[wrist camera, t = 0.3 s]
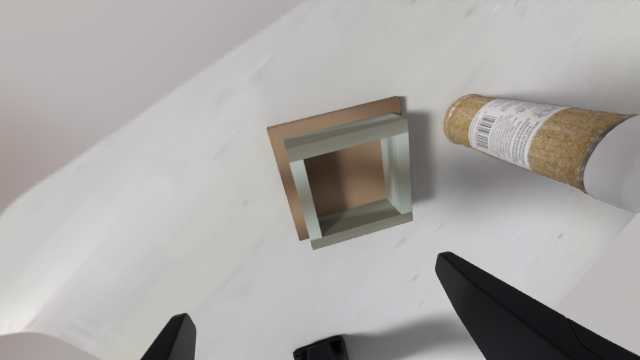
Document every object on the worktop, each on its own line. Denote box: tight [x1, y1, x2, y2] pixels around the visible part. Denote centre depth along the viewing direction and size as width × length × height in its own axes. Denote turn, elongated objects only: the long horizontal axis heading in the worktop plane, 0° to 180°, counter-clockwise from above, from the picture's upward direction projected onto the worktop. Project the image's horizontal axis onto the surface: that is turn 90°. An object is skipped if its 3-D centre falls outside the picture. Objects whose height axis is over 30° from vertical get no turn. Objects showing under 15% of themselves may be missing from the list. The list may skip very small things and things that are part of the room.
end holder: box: [267, 96, 413, 250], centre depth 21 cm, size 11×11×4 cm
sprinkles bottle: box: [444, 94, 640, 212], centre depth 17 cm, size 5×5×14 cm
